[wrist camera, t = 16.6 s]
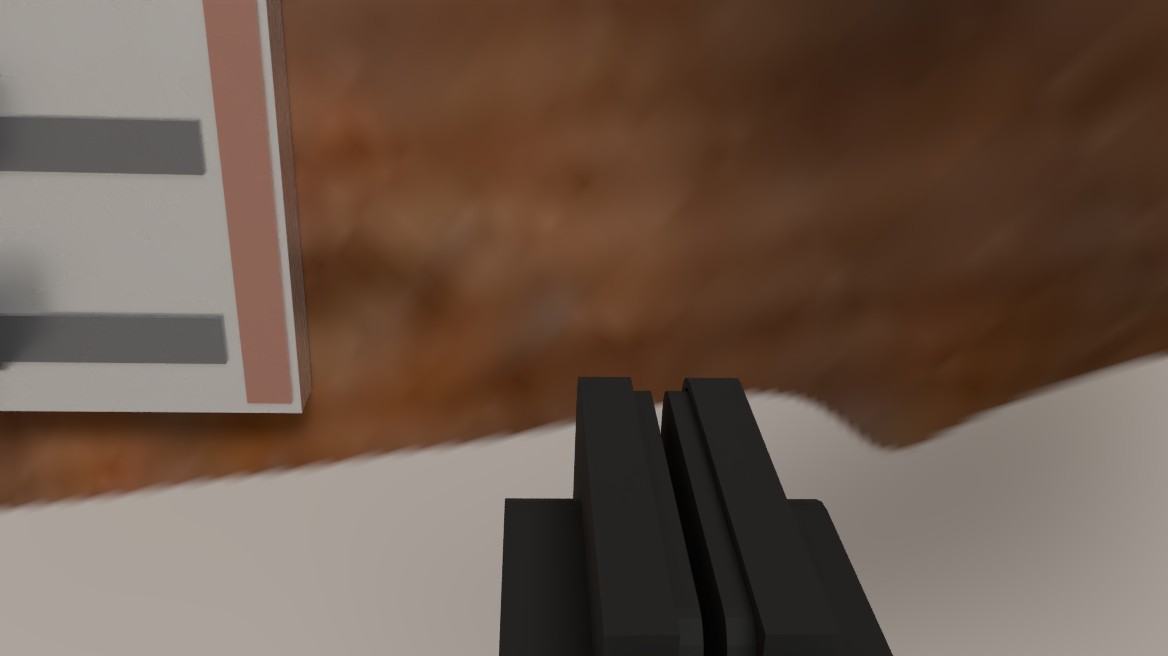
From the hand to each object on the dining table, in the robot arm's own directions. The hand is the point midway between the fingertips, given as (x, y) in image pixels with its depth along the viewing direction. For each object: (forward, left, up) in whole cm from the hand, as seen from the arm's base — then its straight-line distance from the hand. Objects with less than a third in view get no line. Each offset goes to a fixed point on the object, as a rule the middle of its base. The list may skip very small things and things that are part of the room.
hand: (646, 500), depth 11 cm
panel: (+3, -18, -27) cm, 33 cm away
